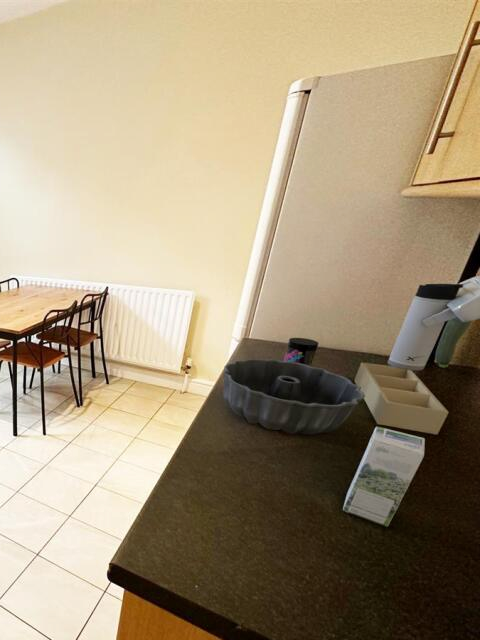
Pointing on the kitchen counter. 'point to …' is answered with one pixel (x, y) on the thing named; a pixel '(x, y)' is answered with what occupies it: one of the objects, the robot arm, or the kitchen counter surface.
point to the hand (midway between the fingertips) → (421, 320)
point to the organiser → (399, 398)
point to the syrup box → (384, 475)
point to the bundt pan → (289, 395)
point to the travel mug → (421, 326)
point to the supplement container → (300, 351)
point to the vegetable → (450, 341)
